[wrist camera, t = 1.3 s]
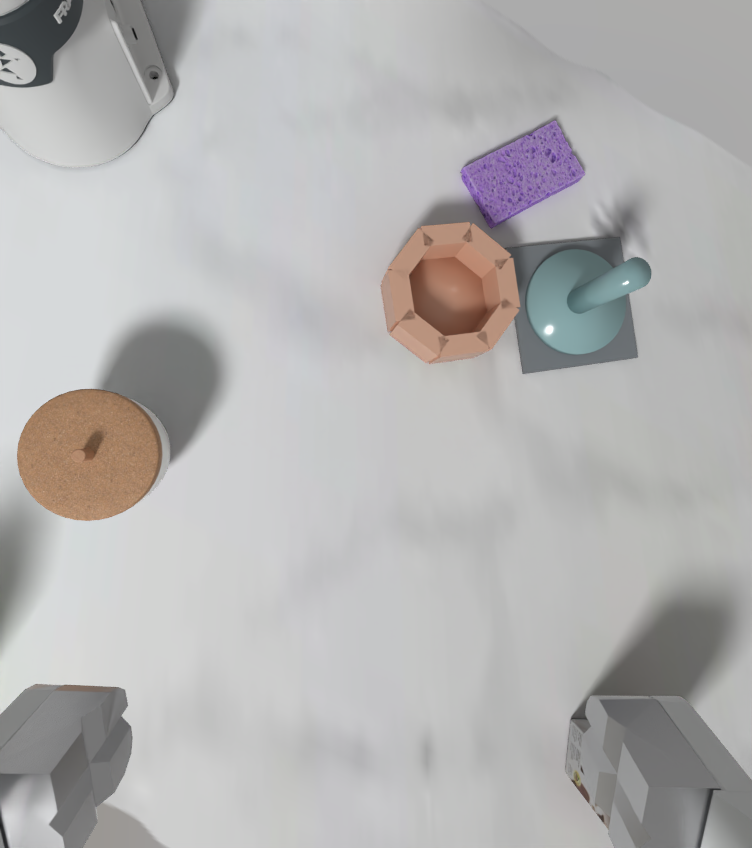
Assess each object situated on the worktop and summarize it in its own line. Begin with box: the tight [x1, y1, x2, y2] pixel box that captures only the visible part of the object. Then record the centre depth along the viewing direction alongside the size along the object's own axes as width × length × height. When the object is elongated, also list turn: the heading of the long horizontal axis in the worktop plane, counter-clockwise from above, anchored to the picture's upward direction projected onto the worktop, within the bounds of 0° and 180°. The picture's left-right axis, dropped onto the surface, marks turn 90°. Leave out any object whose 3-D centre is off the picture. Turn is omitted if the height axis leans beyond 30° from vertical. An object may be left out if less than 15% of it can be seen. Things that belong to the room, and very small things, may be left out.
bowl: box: [381, 222, 520, 364], centre depth 47 cm, size 13×13×4 cm
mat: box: [505, 237, 638, 374], centre depth 51 cm, size 14×14×1 cm
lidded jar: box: [17, 389, 171, 521], centre depth 39 cm, size 11×11×9 cm
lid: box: [525, 249, 651, 355], centre depth 46 cm, size 12×12×10 cm
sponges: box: [461, 120, 585, 228], centre depth 50 cm, size 7×13×2 cm, turn 120°
